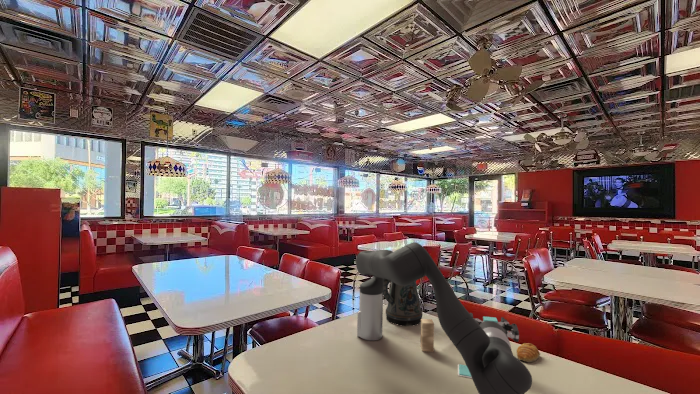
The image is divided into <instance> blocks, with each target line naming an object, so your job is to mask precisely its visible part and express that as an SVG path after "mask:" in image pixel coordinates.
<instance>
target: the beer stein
mask: <svg viewBox="0 0 700 394" xmlns="http://www.w3.org/2000/svg"><path fill="white" fill-rule="evenodd" d="M389 285H390V287H389ZM383 298H384V299H385V300H386V302H387V306H386V309H385V317H386V320H387V321H388V322H389V323H391V322H392V323H391V324H393V323H394V324H393V325H396V324H398V325H397V326H400V325H402V326H401V327H414V326H413V325H415V326H417V324H418V325H421V323H420V322H421V319H423V311H422V308H421V304H420V299H419V292H418V287H417V281H415V282H413V283H411V284H410V285H407V286H400V285H397V284H395V283H394V282H392V281H390V280H388V279H384V285H383Z"/></svg>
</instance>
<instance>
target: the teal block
mask: <svg viewBox="0 0 700 394" xmlns="http://www.w3.org/2000/svg"><path fill="white" fill-rule="evenodd" d="M482 321H485V322H486V321H492V322H496V323H498V322H499V321H498V319H497V317H493V316H482Z"/></svg>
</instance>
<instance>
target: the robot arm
mask: <svg viewBox="0 0 700 394" xmlns="http://www.w3.org/2000/svg"><path fill="white" fill-rule="evenodd" d="M355 267H356V270H357V272H358V273H359V274H360V275H362V276H372V277H371V278H370V279H368V280H366V281H363V282H362V283H360V285H359V303H358V304H359V305H358V307H359V308H358V309H359V310H358V311H357V328H356V333H357V334H356V337H358V338H361V339H362V340H364V341H377V340H380V339H382V338H383V312H384V309H383V307H384V301H383V299H384V296H383V285H384V279H388V280H390V281H392V282H394V283H395V284H397V285H400V286H407V285H410V284H411V283H413V282H415V281H416V282H417V281H418V280H420V279H422V278H424V277H426V278H427V279H428V280H429V282H430V283H431V286H432V288H433V292H434V297H435V303H436V306H435V307H436V315H437V319H438V321H439V324H440V327H441V329H442V330H443V331H444V333H445V335H446V336H447V337H448V338H449V340H450V341H451V343H452V345H454V347H455V349H456V350H457V351H458V352H459V354H460V356H461V357H462V359H463V362H464V363H465V365H467V367H468V370H469V372H470V374H471V377H472V378H471V379H472V381H473V383H474V386H475V389H476V390H477V392H478V394H526V393H527V392H528V391H529V390H530V389H531V387H532V384H533V377H532V374H531V372H530V371H529V369H528V367H527V366H526V365H525V364H524V362H522V360H519V359H518V357H517V356H515V355H514V354H513V351H512V344H511V342H510V340H509V339H512V340H513V341H514V342H516V343H518V342H519V340H520V331H519V328H518V325H517V324H516V323H511V324H510V322H509V321H508V320H507V319H505V317H504V316H501V317H500V321H498V323H496V322H492V321H486V322H485V321H483V320H481V319H479V318H474V314H473V313H472V312H469V311H468V310H467V309H466V307H465V306H464V305H463V304H462V302H461V301H460V299H459V298H458V296H457V295H456V293H455V292H454V290H453V289H452V287H451V286H450V285H451V284H449V283H448V280H447V279H446V278H445V276H444V274H443V273H442V271H441V270H440V269H439V267H438V266H437V264H436V262H435V261H434V259H433V257H432V256H431V255H430V253H429V251H427V249H425V247H424V246H422V245H421V244H420V243H419V242H415V241H413V242H410V243H408V244H405V245H403V246H402V247H400V248H398V249H397V250H395V251H392V250H390V249H379V250H363V251H360V252H359V253H357V256H356V259H355Z"/></svg>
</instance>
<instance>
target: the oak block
mask: <svg viewBox="0 0 700 394" xmlns="http://www.w3.org/2000/svg"><path fill="white" fill-rule="evenodd" d="M434 341H435V323H434V321H433V319H431V318H422V319H421V323H420V345H419V346H420V349H421V352H427V353H428V352H429V353H434V348H435V347H434V345H435V344H434V343H435V342H434Z"/></svg>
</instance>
